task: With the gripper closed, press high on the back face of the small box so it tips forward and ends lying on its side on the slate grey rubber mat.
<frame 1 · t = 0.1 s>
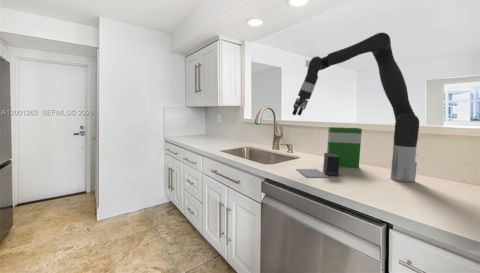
hand: (296, 114, 141), 31 cm above the worktop, tool tilted 20°, fingers open, 8 cm apart
green cereal box: (342, 165, 142), on the worktop
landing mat: (311, 173, 121), on the worktop
small box: (330, 173, 121), on the worktop
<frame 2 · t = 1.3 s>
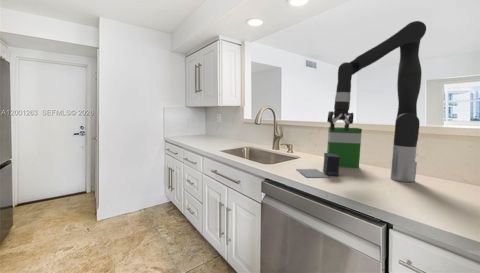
hand: (339, 130, 123), 23 cm above the worktop, tool pointing down, fingers open, 8 cm apart
nothing on the worktop moved.
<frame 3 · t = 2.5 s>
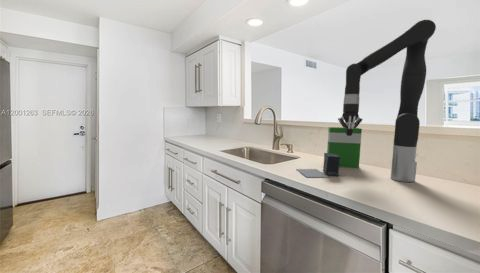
hand: (349, 135, 120), 21 cm above the worktop, tool pointing down, fingers closed
nothing on the worktop moved.
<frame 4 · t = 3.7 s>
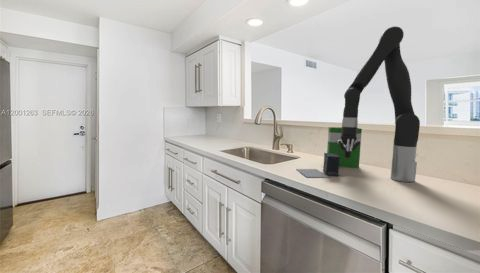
hand: (347, 157, 121), 9 cm above the worktop, tool pointing down, fingers closed
nothing on the worktop moved.
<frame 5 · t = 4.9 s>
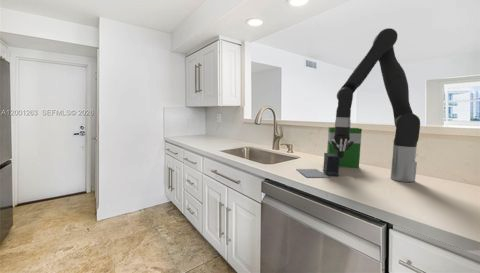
hand: (340, 157, 121), 9 cm above the worktop, tool pointing down, fingers closed
small box: (330, 173, 121), on the worktop, touching gripper
everything else where it was.
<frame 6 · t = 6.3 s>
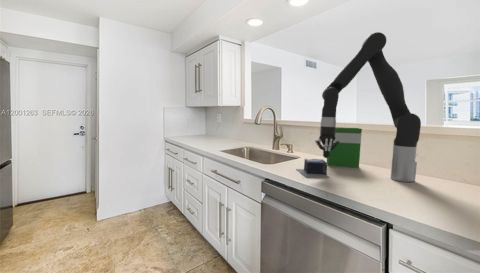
hand: (326, 157, 120), 9 cm above the worktop, tool pointing down, fingers closed
small box: (325, 166, 122), point 4 cm above the worktop, touching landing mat
everything else where it was.
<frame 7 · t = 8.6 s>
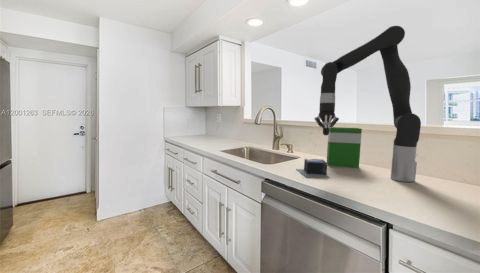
hand: (325, 135, 118), 21 cm above the worktop, tool pointing down, fingers closed
nothing on the worktop moved.
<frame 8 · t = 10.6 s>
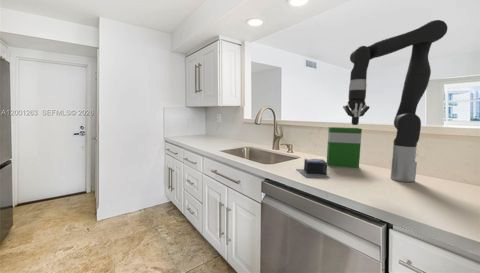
hand: (354, 124, 111), 27 cm above the worktop, tool pointing down, fingers closed
nothing on the worktop moved.
at the end: small box tilted 91°; small box inside the target area (3.4 cm from its centre), point 3.6 cm above the worktop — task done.
